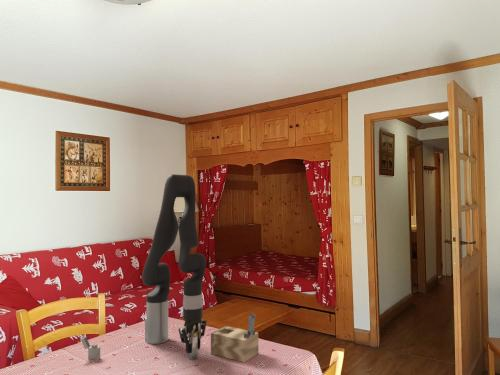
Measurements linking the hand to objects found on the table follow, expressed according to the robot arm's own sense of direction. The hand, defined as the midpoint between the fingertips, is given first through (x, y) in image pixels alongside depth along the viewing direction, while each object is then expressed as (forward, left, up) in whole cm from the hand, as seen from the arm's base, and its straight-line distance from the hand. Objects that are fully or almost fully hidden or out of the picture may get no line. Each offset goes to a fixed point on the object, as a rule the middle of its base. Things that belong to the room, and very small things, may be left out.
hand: (193, 350), depth 146 cm
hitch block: (+11, +12, -3) cm, 17 cm away
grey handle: (+18, +12, +9) cm, 24 cm away
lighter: (-34, -21, -3) cm, 40 cm away
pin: (0, 0, -3) cm, 3 cm away
